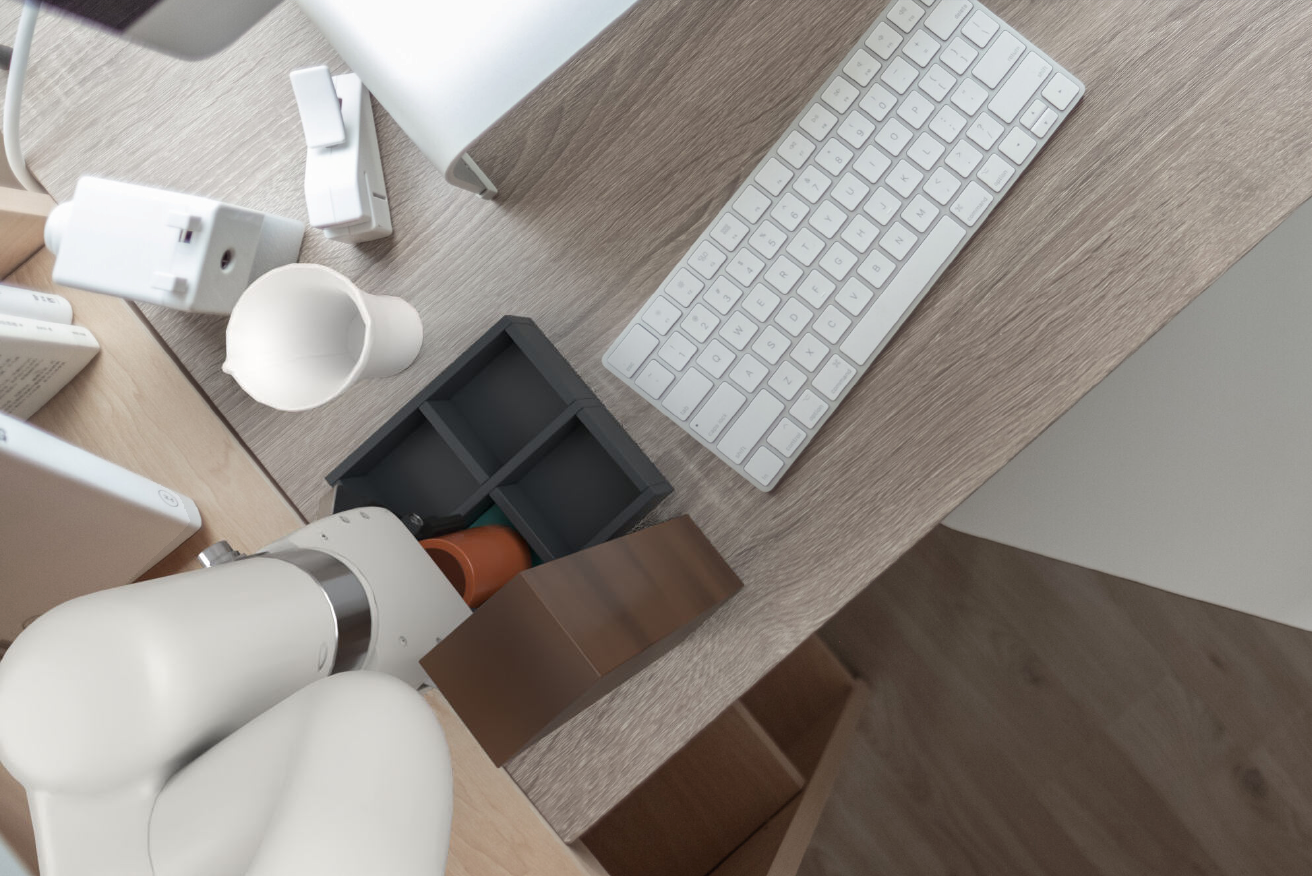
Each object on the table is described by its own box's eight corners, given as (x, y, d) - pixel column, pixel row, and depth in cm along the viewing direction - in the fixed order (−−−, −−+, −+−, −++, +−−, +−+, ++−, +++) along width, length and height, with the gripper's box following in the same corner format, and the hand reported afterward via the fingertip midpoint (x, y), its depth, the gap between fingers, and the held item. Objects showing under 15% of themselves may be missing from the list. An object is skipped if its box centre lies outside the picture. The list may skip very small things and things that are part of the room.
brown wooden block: (674, 648, 75) (497, 769, 52) (617, 575, 76) (416, 661, 52) (745, 585, 76) (601, 677, 52) (687, 513, 76) (520, 571, 53)
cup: (304, 306, 80) (197, 295, 70) (431, 257, 80) (342, 239, 70) (339, 430, 79) (236, 436, 69) (468, 379, 79) (384, 379, 69)
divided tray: (675, 489, 77) (656, 494, 73) (498, 652, 76) (470, 665, 72) (530, 317, 79) (505, 314, 75) (357, 473, 78) (323, 478, 75)
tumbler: (519, 616, 74) (459, 642, 67) (443, 596, 75) (374, 620, 67) (541, 533, 75) (484, 551, 67) (465, 514, 75) (400, 529, 68)
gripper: (117, 547, 56) (346, 506, 74) (329, 837, 53) (513, 722, 71) (239, 440, 56) (437, 425, 74) (456, 723, 54) (606, 637, 72)
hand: (473, 571), depth 72 cm, fingers closed on tumbler, 5 cm apart
